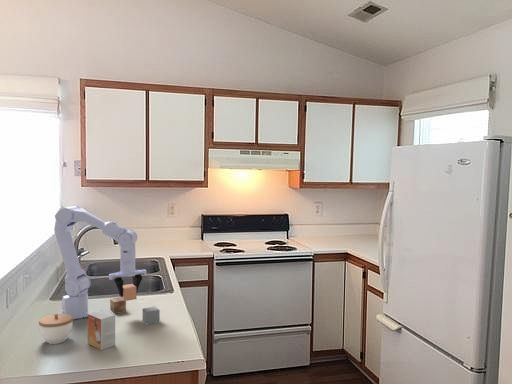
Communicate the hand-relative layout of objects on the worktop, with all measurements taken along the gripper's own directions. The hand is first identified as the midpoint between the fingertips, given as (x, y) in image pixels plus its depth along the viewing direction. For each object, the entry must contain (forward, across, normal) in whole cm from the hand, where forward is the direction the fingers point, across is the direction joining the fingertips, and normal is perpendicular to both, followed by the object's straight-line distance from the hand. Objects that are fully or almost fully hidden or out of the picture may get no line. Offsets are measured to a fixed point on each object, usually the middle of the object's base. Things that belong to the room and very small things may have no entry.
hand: (128, 294), depth 173 cm
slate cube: (+9, +6, -9) cm, 14 cm away
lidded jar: (+9, -28, -9) cm, 31 cm away
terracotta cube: (+1, 0, 0) cm, 1 cm away
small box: (+9, -16, -21) cm, 28 cm away
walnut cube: (+9, -1, +10) cm, 14 cm away
